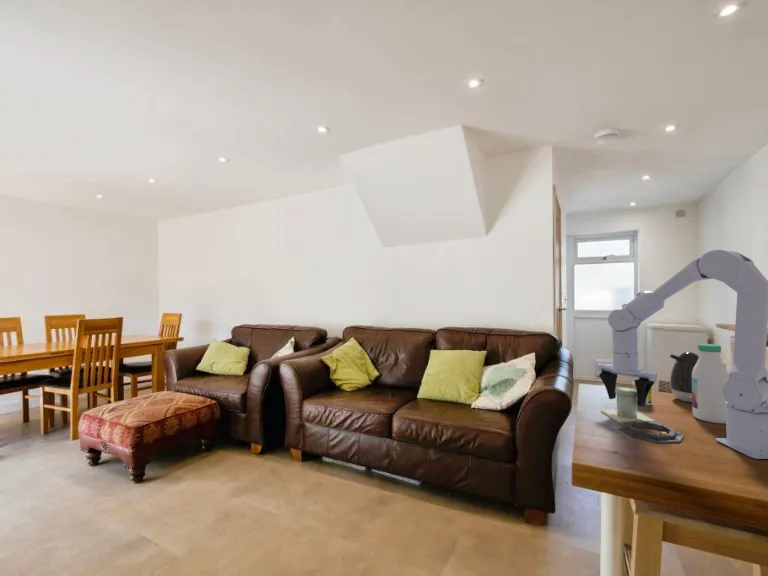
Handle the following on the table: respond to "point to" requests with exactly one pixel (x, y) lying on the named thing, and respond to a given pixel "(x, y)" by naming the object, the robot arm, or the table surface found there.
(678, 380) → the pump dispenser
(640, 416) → the plate
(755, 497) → the table surface
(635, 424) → the bayonet collar
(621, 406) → the pale green jar
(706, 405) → the milk bottle
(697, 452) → the table surface
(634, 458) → the table surface
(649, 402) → the supplement bottle
